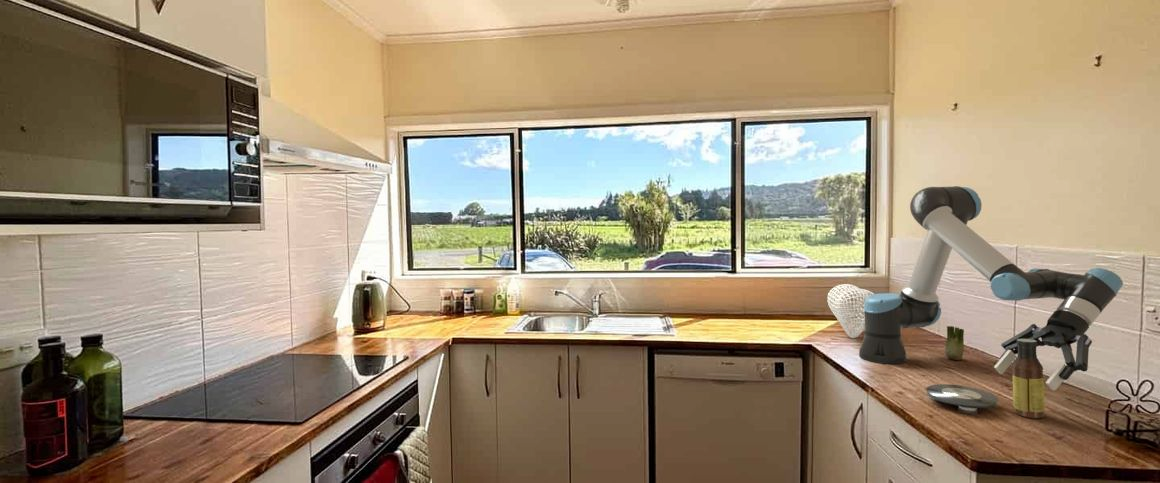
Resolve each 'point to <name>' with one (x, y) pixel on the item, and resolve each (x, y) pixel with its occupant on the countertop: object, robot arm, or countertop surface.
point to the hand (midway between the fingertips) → (1022, 378)
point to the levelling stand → (962, 397)
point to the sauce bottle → (1028, 381)
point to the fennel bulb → (954, 343)
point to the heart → (839, 313)
